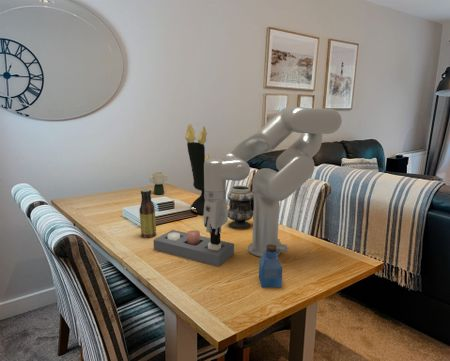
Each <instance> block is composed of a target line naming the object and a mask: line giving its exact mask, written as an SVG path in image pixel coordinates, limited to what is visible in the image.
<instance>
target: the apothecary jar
mask: <svg viewBox="0 0 450 361" xmlns="http://www.w3.org/2000/svg"><path fill="white" fill-rule="evenodd" d="M226 198H227V199H228V200H229V207H228V208H227V209H228V219H230V220H232V221H231V222H230V223H229V224H228V226H229V227H230V228H231V229H235V230H246V229H249V228H250V227H251V223H249V222H248V221H250V220H251V219H253V210H252V206H251V205H252V200H254V197H253V191H251V188H250V187H249V186H247V185H239V184H238V185H232V186H231V187H230V191H229V192H228V193H227V194H226Z"/></svg>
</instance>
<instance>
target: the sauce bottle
mask: <svg viewBox="0 0 450 361" xmlns="http://www.w3.org/2000/svg"><path fill="white" fill-rule="evenodd" d="M140 194H141V201H140V202H141V203H140V206H139V212H138V213H139V220H140V221H139V224H140V225H139V226H140V233H141V236H142V237H143V238H147V239H148V238H153V237H156V235H157V224H156V223H157V222H156V210H155V204H154V202H153V201H152V190H151V189H150V188H143V189H140Z"/></svg>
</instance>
